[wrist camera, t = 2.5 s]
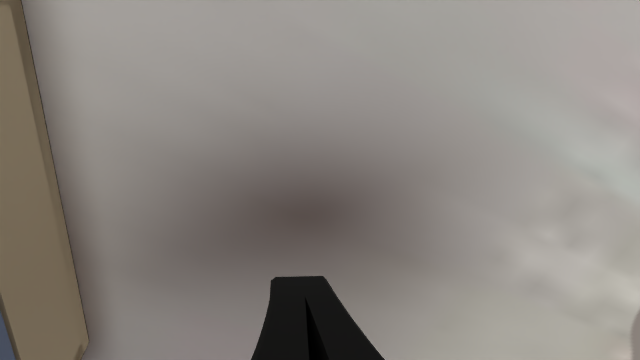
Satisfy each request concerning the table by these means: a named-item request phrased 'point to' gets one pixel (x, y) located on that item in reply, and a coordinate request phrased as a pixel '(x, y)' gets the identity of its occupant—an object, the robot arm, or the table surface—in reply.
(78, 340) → the beige shallow box
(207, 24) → the table surface
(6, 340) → the lid
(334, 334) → the robot arm
